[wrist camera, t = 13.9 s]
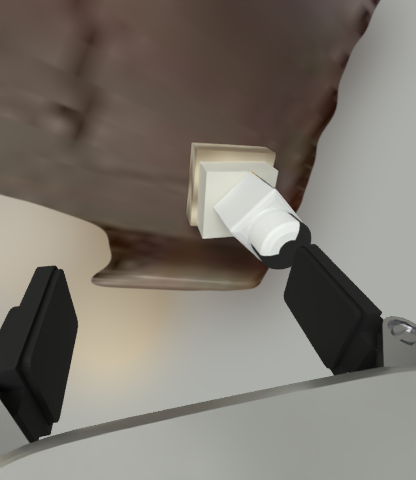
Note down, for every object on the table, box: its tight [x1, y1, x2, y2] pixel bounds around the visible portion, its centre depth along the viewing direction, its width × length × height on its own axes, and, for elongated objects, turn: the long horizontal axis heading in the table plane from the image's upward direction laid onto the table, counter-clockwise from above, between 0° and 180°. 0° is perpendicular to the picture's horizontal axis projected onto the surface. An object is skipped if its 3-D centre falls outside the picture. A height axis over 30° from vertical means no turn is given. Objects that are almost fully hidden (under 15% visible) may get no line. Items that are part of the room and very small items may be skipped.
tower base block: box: [186, 143, 276, 226], centre depth 44 cm, size 12×12×4 cm
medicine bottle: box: [214, 171, 311, 269], centre depth 34 cm, size 7×7×12 cm
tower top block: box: [197, 161, 278, 239], centre depth 41 cm, size 10×10×4 cm
